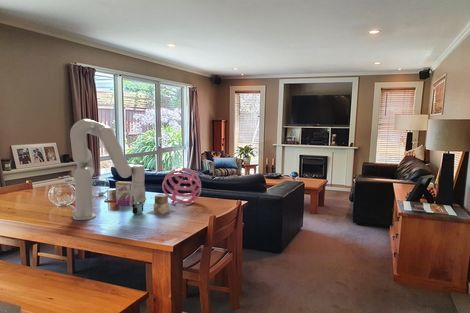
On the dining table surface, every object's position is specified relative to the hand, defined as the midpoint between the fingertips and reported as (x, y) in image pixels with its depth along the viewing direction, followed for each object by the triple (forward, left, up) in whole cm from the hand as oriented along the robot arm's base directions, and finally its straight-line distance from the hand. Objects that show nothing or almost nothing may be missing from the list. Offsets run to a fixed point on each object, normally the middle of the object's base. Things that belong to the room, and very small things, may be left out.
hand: (137, 212), depth 205 cm
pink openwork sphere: (+10, +38, -2) cm, 40 cm away
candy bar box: (-25, +16, -2) cm, 30 cm away
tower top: (+11, +10, +5) cm, 16 cm away
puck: (0, 0, -1) cm, 1 cm away
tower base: (+11, +10, -1) cm, 15 cm away
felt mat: (+11, +10, -2) cm, 15 cm away
